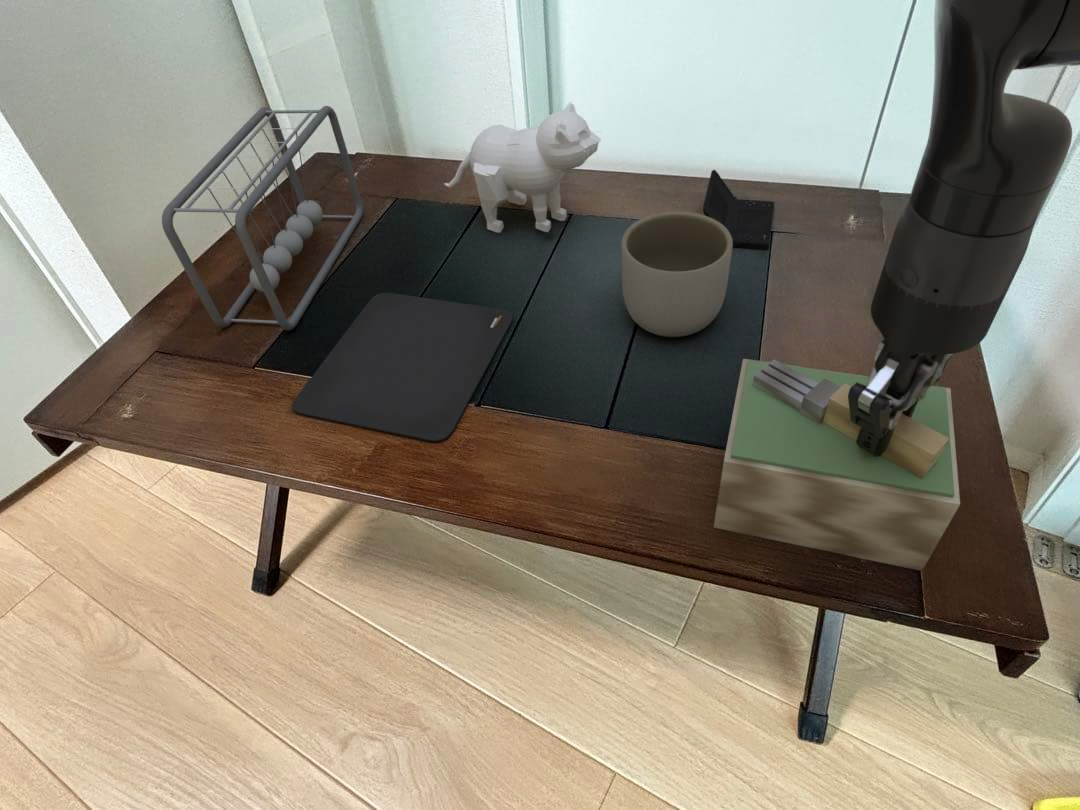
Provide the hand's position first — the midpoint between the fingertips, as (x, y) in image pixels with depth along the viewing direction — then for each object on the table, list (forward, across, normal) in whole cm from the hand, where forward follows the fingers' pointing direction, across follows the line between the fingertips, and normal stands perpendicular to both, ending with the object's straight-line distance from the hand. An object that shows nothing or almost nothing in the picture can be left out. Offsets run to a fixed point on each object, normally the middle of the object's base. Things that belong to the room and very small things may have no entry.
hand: (880, 437), depth 59 cm
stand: (+11, 0, +4) cm, 11 cm away
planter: (+11, +11, +31) cm, 35 cm away
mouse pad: (+11, -17, +49) cm, 53 cm away
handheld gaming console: (+11, +32, +37) cm, 50 cm away
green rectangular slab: (+1, 0, +4) cm, 4 cm away
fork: (0, 0, +4) cm, 4 cm away
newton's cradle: (+11, -16, +78) cm, 80 cm away
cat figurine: (+11, +14, +62) cm, 65 cm away
